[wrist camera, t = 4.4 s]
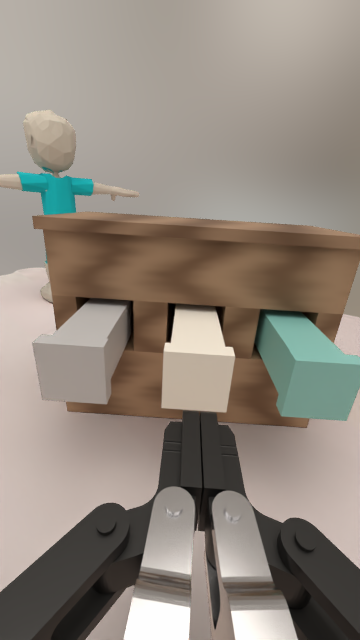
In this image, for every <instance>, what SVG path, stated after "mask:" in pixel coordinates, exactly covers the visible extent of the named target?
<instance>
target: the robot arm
mask: <svg viewBox="0 0 360 640" xmlns="http://www.w3.org/2000/svg"><path fill="white" fill-rule="evenodd" d="M197 522H198V531H205V551H204V563H205V573H206V583H207V593H208V603H209V613H210V623H211V637H212V640H360V569H359V568H358V567H357V566H356V565H355V564H354V563H353V562H351V561H350V560H349V559H348V558H347V557H346V556H345V555H344V554H343V553H342V552H341V551H340V550H339V549H338V548H337V547H336V546H335V545H334V544H333V543H332V542H331V541H330V540H328V539H327V538H326V537H325V536H324V535H323V534H322V533H321V532H320V531H319V530H318V529H317V528H316V527H315V526H314V525H312V524H311V523H309V522H308V521H306V520H304V519H301V518H290V519H287V520H286V521H285V522H284V523H281V522H279V521H276V520H274V519H272V518H269V517H267V516H265V515H263V514H261V513H260V512H258V511H257V510H256V509H255V508H254V507H253V506H252V505H251V503H250V502H249V500H248V499H247V496H246V493H245V489H244V484H243V478H242V473H241V468H240V463H239V457H238V452H237V448H236V441H235V436H234V434H233V432H232V431H231V429H230V428H229V426H228V425H218V421H217V414H216V412H205V411H200V414H199V411H190V410H183V415H182V422H172V421H170V423H169V425H168V426H167V428H166V429H165V433H164V442H163V451H162V459H161V468H160V477H159V485H158V489H157V492H156V494H155V495H154V497H153V498H152V499H151V500H150V501H149V502H148V503H146V504H144V505H143V506H140V507H137V508H133V509H129V510H125V509H124V508H123V507H122V506H121V505H119V504H116V503H106V504H102V505H100V506H98V507H97V508H95V509H94V510H93V511H92V512H91V513H89V514H88V515H87V516H86V517H85V518H84V519H83V520H81V521H80V522H79V523H78V524H77V525H76V526H75V527H74V528H72V529H71V530H70V531H69V532H68V533H67V534H66V535H64V536H63V537H62V538H61V539H60V540H59V541H58V542H57V543H55V544H54V545H53V546H52V547H51V548H50V549H49V550H48V551H46V552H45V553H44V554H43V555H42V556H41V557H40V558H38V559H37V560H36V561H35V562H34V563H33V564H32V565H31V566H29V567H28V568H27V569H26V570H25V571H24V572H23V573H21V574H20V575H19V576H18V577H17V578H16V579H15V580H14V581H12V582H11V583H10V584H9V585H8V586H7V587H6V588H5V589H3V590H2V591H1V592H0V640H85V639H86V638H87V637H88V635H89V634H90V633H91V632H92V630H93V629H94V628H95V627H96V625H97V624H98V623H99V622H100V620H101V619H102V618H103V617H104V615H105V614H106V613H107V612H108V610H109V609H110V608H111V607H112V605H113V604H114V603H115V602H116V600H117V599H118V598H119V597H120V595H121V594H122V593H123V592H124V590H125V589H126V588H127V587H130V586H132V585H135V587H134V592H133V596H132V601H131V606H130V611H129V616H128V621H127V626H126V630H125V635H124V640H189V624H190V606H191V570H192V553H193V538H194V531H196V529H197Z"/></svg>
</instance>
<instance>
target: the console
mask: <svg viewBox="0 0 360 640" xmlns="http://www.w3.org/2000/svg"><path fill="white" fill-rule="evenodd" d="M32 217H33V225H34V229H43V233H44V240H45V248H46V255H47V263H48V270H49V278H50V285H51V292H52V300H53V307H54V315H55V322H56V330H58V329H59V328H60V327H61V326H62V325H63V324H64V323H65V322H66V321H67V320H68V319H69V318H71V317H72V316H73V315H74V314H75V313H76V312H77V311H78V310H79V309H80V308H81V307H82V306H83V305H84V304H85V303H86V302H87V301H88V300H89V299H90V298H103V299H119V300H131V335H130V338H129V340H128V342H127V344H126V346H125V349H124V351H123V353H122V355H121V358H120V360H119V362H118V364H117V366H116V369H115V371H114V373H113V375H112V378H111V396H110V398H109V400H108V403H107V404H95V403H81V402H66V404H67V411H74V412H88V413H103V414H117V415H132V416H146V417H161V418H175V419H182V415H183V410H182V409H168V408H161V404H162V379H163V353H164V346H165V343H171V338H172V331H173V323H174V316H175V308H176V303H179V304H194V305H209V306H215V307H216V311H217V315H218V319H219V323H220V327H221V331H222V335H223V339H224V343H225V347H233V350H234V354H235V361H234V367H233V374H232V380H231V386H230V392H229V399H228V405H227V411H226V412H216V414H217V421H219V422H233V423H248V424H262V425H276V426H291V427H305V428H307V425H308V422H309V419H310V418H298V417H284V416H281V415H280V413H279V410H278V408H277V406H276V403H277V399H278V395H279V394H278V392H277V390H276V387H275V385H274V383H273V381H272V379H271V377H270V375H269V372H268V370H267V368H266V366H265V364H264V362H263V360H262V357H261V355H260V353H259V351H258V349H257V347H256V345H255V343H254V340H255V335H256V329H257V324H258V319H259V313H260V309H270V310H285V311H300V312H302V313H303V314H304V315H305V316H306V317H307V318H308V319H309V320H310V321H311V322H312V323H313V324H314V325H315V326H316V327H317V328H318V329H319V330H320V331H321V332H322V333H323V334H324V335H325V336H326V337H327V338H328V339H329V340H330V341H331V342H333V343H334V340H335V337H336V334H337V331H338V328H339V325H340V321H341V318H342V315H343V312H344V309H345V306H346V303H347V300H348V296H349V293H350V290H351V287H352V284H353V281H354V277H355V274H356V271H357V268H358V265H359V261H360V235H357V234H352V233H346V232H341V231H335V230H330V229H324V228H319V227H313V226H303V225H287V224H273V223H256V222H241V221H226V220H210V219H194V218H179V217H163V216H147V215H132V214H116V213H100V212H78V213H65V214H52V215H39V216H32ZM190 411H197V410H190ZM205 412H211V411H205ZM199 414H200V411H199Z"/></svg>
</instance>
